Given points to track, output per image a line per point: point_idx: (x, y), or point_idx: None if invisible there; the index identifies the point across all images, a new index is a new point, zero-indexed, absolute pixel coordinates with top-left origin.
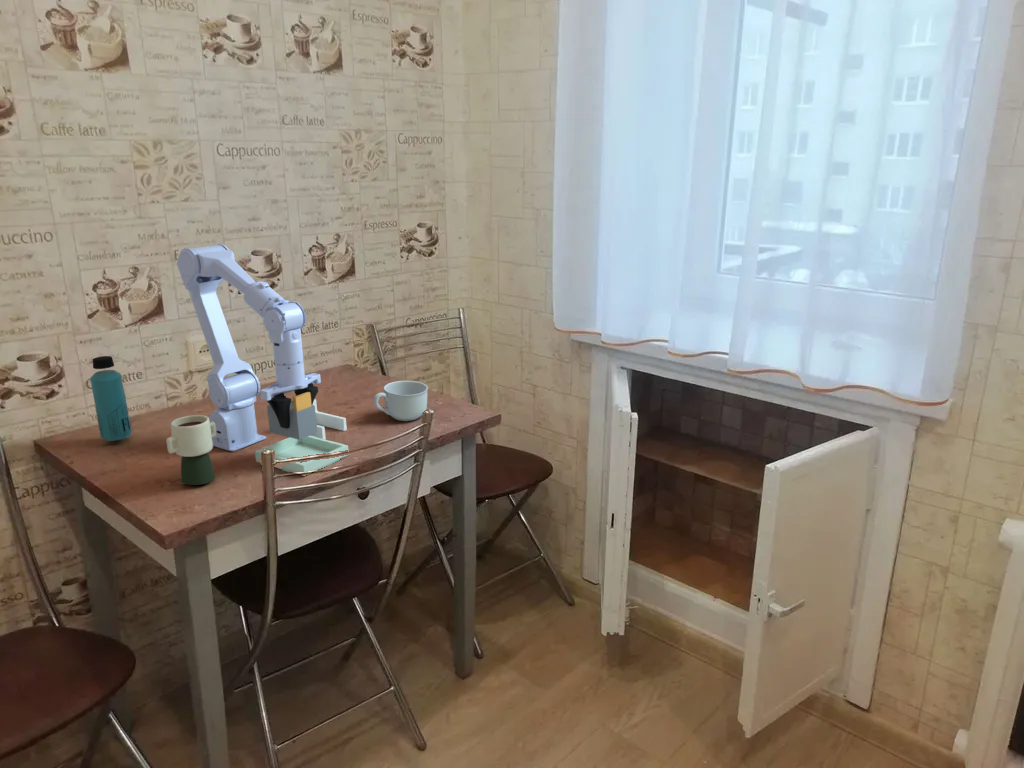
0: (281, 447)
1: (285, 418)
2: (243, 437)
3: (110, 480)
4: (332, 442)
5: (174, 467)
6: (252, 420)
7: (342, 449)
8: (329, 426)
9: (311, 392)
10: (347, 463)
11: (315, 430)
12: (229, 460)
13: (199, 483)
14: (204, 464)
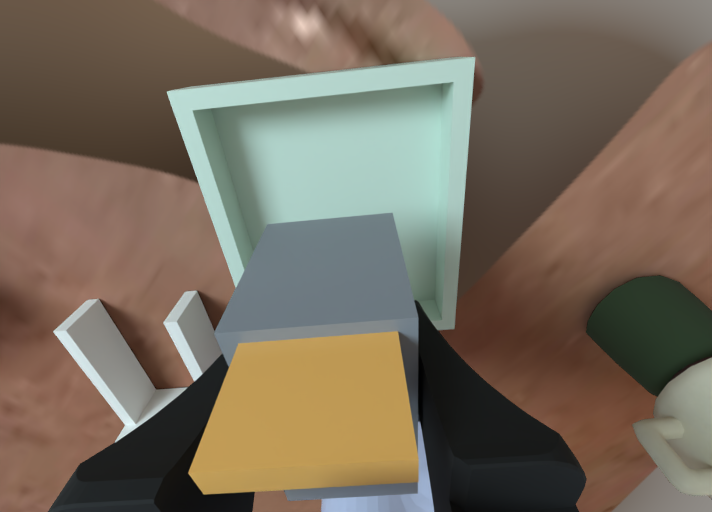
0: None
1: (444, 340)
2: None
3: None
4: (210, 186)
5: (563, 404)
6: None
7: (209, 86)
8: (129, 351)
9: (165, 472)
10: (237, 16)
11: (275, 230)
12: (471, 358)
13: (678, 282)
14: (700, 322)
